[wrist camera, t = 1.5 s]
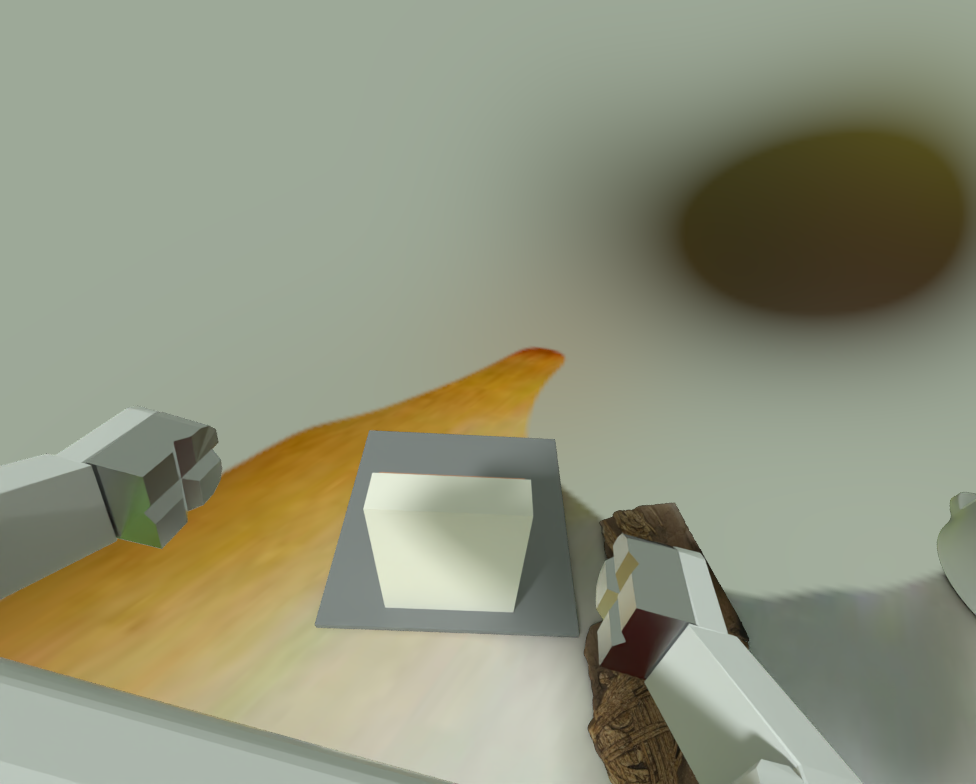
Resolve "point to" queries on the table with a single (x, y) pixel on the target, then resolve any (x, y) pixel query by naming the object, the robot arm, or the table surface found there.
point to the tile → (448, 539)
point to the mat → (547, 560)
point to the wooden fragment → (626, 699)
